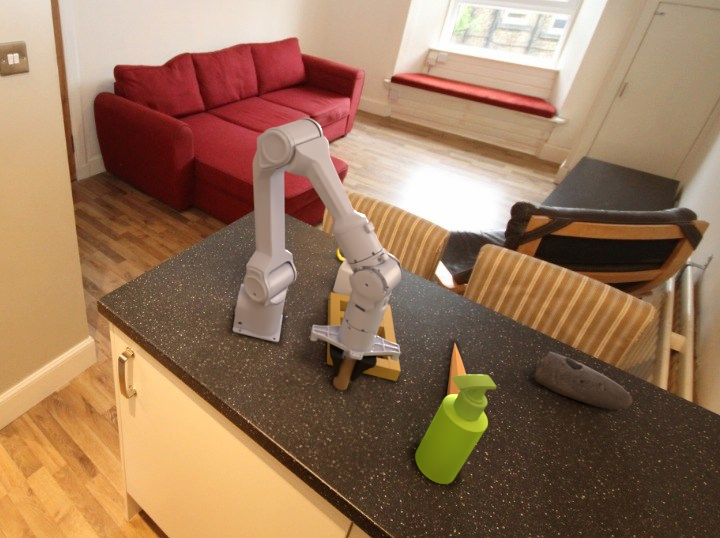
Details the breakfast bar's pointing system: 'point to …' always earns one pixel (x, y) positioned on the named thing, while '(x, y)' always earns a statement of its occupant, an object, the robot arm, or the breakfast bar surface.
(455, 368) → the carrot
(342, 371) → the peg
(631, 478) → the breakfast bar surface
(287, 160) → the robot arm
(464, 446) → the soap dispenser
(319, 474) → the breakfast bar surface
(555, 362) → the perforated stone tool
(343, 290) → the medicine bottle
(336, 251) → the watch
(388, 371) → the peg block
